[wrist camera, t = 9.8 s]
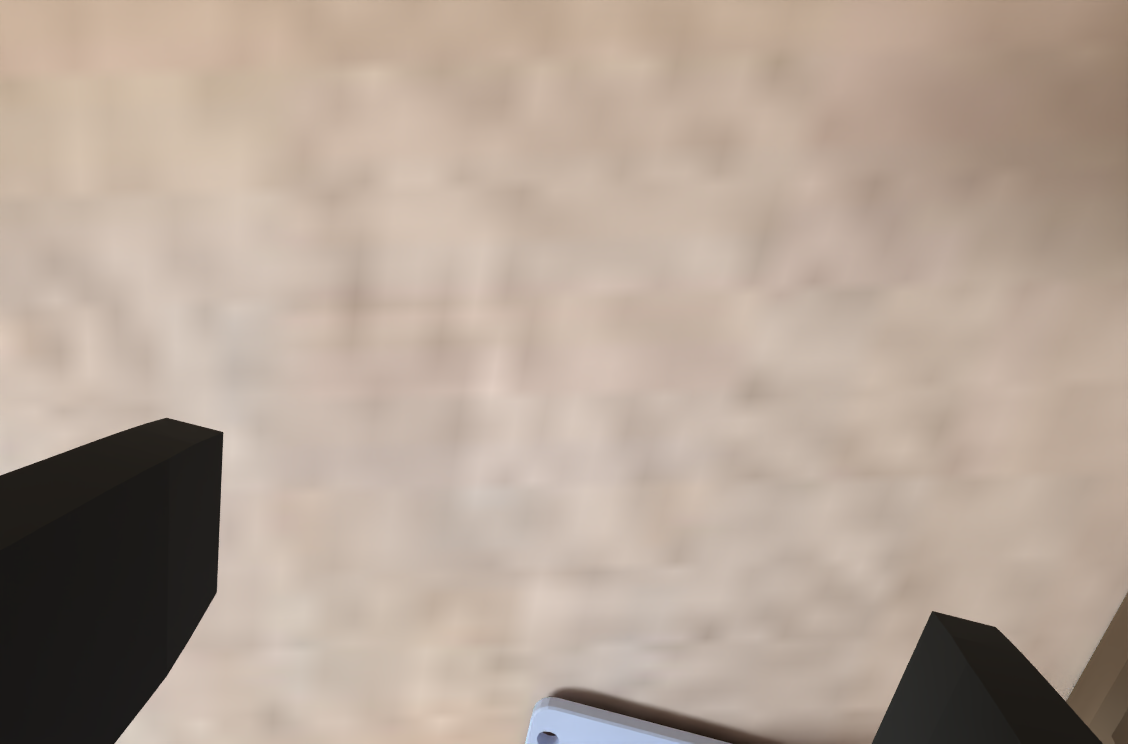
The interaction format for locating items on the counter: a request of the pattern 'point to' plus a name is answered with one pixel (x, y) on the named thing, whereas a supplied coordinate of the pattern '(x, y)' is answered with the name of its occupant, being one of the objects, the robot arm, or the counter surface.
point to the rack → (1106, 684)
